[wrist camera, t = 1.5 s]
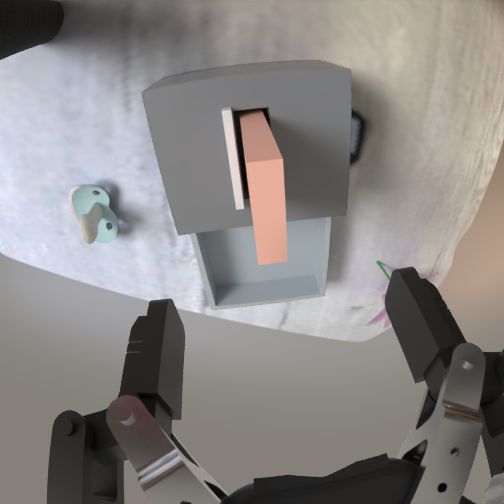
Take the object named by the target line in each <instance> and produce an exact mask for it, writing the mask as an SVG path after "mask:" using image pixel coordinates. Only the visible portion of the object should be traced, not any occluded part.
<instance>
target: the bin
mask: <svg viewBox="0 0 504 504" xmlns="http://www.w3.org/2000/svg"><path fill="white" fill-rule="evenodd" d="M286 231H287V259H288V261H287V262H279V263H271V264H263V265H258V257H257V250H256V242H255V234H254V227H253V226H247V227H239V228H231V229H223V230H215V231H208V232H200V233H193V234H190V236H191V240H192V244H193V247H194V251H195V255H196V258H197V262H198V265H199V269H200V272H201V275H202V279H203V282H204V286H205V289H206V292H207V296H208V299H209V302H210V306H211V309H212V310H218V309H227V308H236V307H245V306H254V305H262V304H270V303H278V302H286V301H293V300H300V299H308V298H315V297H321V296H325V290H326V280H327V269H328V258H329V245H330V231H331V217H325V218H316V219H307V220H298V221H289V222H286Z"/></svg>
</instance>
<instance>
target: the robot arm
mask: <svg viewBox="0 0 504 504" xmlns="http://www.w3.org/2000/svg"><path fill="white" fill-rule="evenodd" d="M385 309H386V312H387V315H388V317H389V319H390V321H391V324H392V326H393V328H394V331H395V333H396V335H397V338H398V340H399V343H400V345H401V347H402V350H403V352H404V355H405V357H406V360H407V362H408V365H409V368H410V370H411V373H412V375H413V378H414V381H415V383H419V382H421V381H426V384H427V387H426V389H425V392H424V395H423V398H422V401H421V404H420V407H419V410H418V413H417V416H416V419H415V422H414V425H413V427H412V430H411V432H410V434H409V436H408V437H407V438H406V440H405V442H404V443H403V445H402V447H401V449H400V451H399V454H398V456H397V458H388V456H387V453H386V454H382V455H379V456H376V457H372V458H368V459H365V460H361V461H357V462H355V463H353V464H351V465H349V466H347V467H345V468H343V469H341V470H339V471H337V472H334V473H332V474H330V475H328V476H325V477H307V476H294V475H284V476H275V477H267V478H255V479H254V483H252V484H248V485H246V486H244V487H242V488H240V489H238V490H237V491H235V492H233V493H232V494H231V495H228V494H227V493H226V491H225V490H224V489H223V488H222V487H221V486H220V485H219V484H218V483H217V482H216V481H215V480H214V479H213V478H212V477H211V476H210V475H209V474H208V473H207V472H206V471H205V470H204V469H203V468H202V467H201V466H200V465H199V464H198V463H197V462H196V460H195V459H194V458H193V457H192V456H191V454H190V453H189V452H188V451H187V449H186V448H185V447H184V446H183V445H182V443H181V442H180V441H179V440H178V438H177V437H176V436H175V435H174V433H173V432H172V431H171V430H172V420H181V410H182V409H181V408H182V384H183V364H184V349H185V332H184V327H183V324H182V321H181V319H180V317H179V314H178V312H177V310H176V307H175V305H174V302H173V300H172V299H162V300H151V301H150V303H149V307H148V312H147V316H139V317H138V318H137V320H136V322H135V323H134V325H133V326H132V328H131V332H130V337H129V344H128V347H127V354H126V358H125V363H124V369H123V375H122V381H121V387H120V392H119V395H118V397H117V398H116V399H115V400H113V401H112V402H111V404H110V405H109V406H108V408H107V409H105V410H103V411H99V412H96V413H92V414H88V415H85V416H81V415H80V414H79V413H77V412H75V411H72V410H69V411H64V412H62V413H61V414H60V415H58V417H57V418H56V419H55V421H54V424H53V429H52V437H51V446H50V456H49V468H48V485H47V504H124V466H123V465H124V461H125V460H129V461H130V462H131V464H132V465H133V467H134V469H135V470H136V472H137V473H138V476H139V479H138V482H139V484H140V486H141V488H142V489H143V491H144V493H145V494H146V495H147V497H148V498H149V499H150V501H151V502H152V503H153V504H476V503H474V502H472V501H471V500H469V499H467V498H466V497H464V496H463V495H462V494H463V491H464V488H465V486H466V483H467V480H468V477H469V474H470V471H471V468H472V464H473V461H474V458H475V454H476V451H477V447H478V443H479V440H480V435H482V439H483V443H484V446H485V451H486V455H487V459H488V463H489V468H490V473H491V478H492V479H491V481H490V483H489V486H488V487H487V488H486V489H485V492H484V495H485V497H486V498H487V503H486V504H504V395H503V394H504V349H503V351H502V352H482V350H481V349H480V348H479V347H478V346H476V345H474V344H472V343H467V341H466V340H465V338H464V336H463V334H462V332H461V331H460V329H459V327H458V325H457V323H456V321H455V319H454V318H453V316H452V314H451V312H450V310H449V309H447V305H446V304H445V302H444V300H442V297H441V295H440V293H439V291H438V290H437V288H436V287H435V286H434V285H433V284H432V283H431V282H429V281H428V280H427V279H426V278H425V279H421V277H420V276H419V274H418V272H417V271H416V269H415V268H414V267H407V268H401V269H395V270H394V271H393V272H392V275H391V279H390V282H389V286H388V289H387V292H386V296H385Z"/></svg>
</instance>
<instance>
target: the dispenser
mask: <svg viewBox="0 0 504 504" xmlns="http://www.w3.org/2000/svg"><path fill="white" fill-rule="evenodd" d="M141 93H142V97H143V102H144V107H145V111H146V115H147V120H148V124H149V128H150V133H151V137H152V141H153V145H154V149H155V153H156V157H157V161H158V165H159V169H160V173H161V176H162V180H163V184H164V188H165V191H166V195H167V199H168V202H169V206H170V209H171V213H172V216H173V220H174V223H175V226H176V230H177V233H178V235H185V234H193V233H200V232H208V231H215V230H223V229H231V228H239V227H247V226H253V219H252V211H251V204H250V196H249V189H248V181H247V173H246V166H245V158H244V149H243V141H242V133H241V125H240V117H239V110H246V109H255V108H261V110H262V112H263V114H264V116H265V119H266V121H267V123H268V125H269V128H270V130H271V132H272V135H273V137H274V139H275V141H276V144H277V146H278V148H279V151H280V153H281V156H282V158H283V169H284V187H285V208H286V222H289V221H298V220H307V219H316V218H325V217H334V216H344V215H346V209H347V197H348V183H349V166H350V144H351V70H350V69H347V68H344V67H341V66H338V65H334V64H331V63H328V62H324V61H321V60H296V61H276V62H262V63H251V64H241V65H233V66H225V67H218V68H211V69H205V70H199V71H193V72H187V73H182V74H177V75H172V76H167V77H164V78H162V79H161V80H159V81H158V82H156V83H154V84H153V85H151V86H150V87H148V88H147V89H145V90H144V91H143V92H141Z"/></svg>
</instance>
